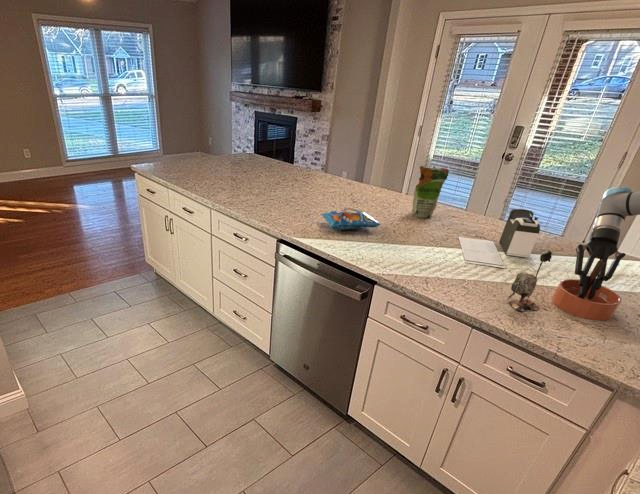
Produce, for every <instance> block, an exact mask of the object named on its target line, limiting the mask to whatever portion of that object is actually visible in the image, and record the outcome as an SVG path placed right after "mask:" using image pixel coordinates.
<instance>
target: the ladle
mask: <svg viewBox="0 0 640 494" xmlns="http://www.w3.org/2000/svg"><path fill="white" fill-rule="evenodd" d="M604 264H605V263H604V262H603V261H599V260H598V261H597V262H596V263H595V265H594V268H593V269H592V271H591V272H590V275H589V276H590V277H589V280H588V284H587V287H586V290H585V293H584V295H583V296H581V297H579V296H578V295H574V296H577V297H579V298H582V299H585V300H588V301H589V299H588V298H586V297H585V296H586V295H587V293H588V291H589V289H590V288H591V286H592V284H593V282H594V281H595V279H596V278H597V276H598V274H599V272H600V270H601V269H602V267H603V265H604Z"/></svg>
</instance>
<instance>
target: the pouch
mask: <svg viewBox="0 0 640 494" xmlns="http://www.w3.org/2000/svg"><path fill="white" fill-rule="evenodd" d="M418 168H419V173H420V177H419V178H418V184H416V185H415V189H414V192H413V200H412V208H411V212H412V213H413V214H415V217H416V218H419V219H427V217H428V216H432V215H433V214H434V211H435V210H436V207H437V206H438V205H437V203H438V201H439V197H440V194H441V191H442V188H443V185H444V183H445V182H446V181H447V179H448V177H449V172H450V170H449V169H448V168H442V167H440V168H437V167H436V166H433V167H425V166H424V165H421V166H420V165H419V166H418Z"/></svg>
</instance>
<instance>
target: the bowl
mask: <svg viewBox="0 0 640 494" xmlns="http://www.w3.org/2000/svg"><path fill="white" fill-rule="evenodd" d="M579 280H580V279H577V278H566V279H563V280H560V281H559V283H558V285H557V287H556V289H555V291H554V293H553V295H552V298H551V301H552V303H553V304H554V305H555V306H556V307H557V308H559V309H561V310H562V311H564V312H566V313H569V314H571V315H572V316H573V315H574V316H576V317H579V318H583V319H586V320H587V319H588V320H593V321H607V320H610V319H611V318H613V316H614V314H615V313H616V312H617V310H618V308H619V307H620V305H621V303H622V297H621V296H620V295H619V294H618V293H617V292H616V291H614V290H613V289H611V288H609V287H606V286H604V285H603V284H602V285H601V288H600V289H599V290H596V292H595V295H594V297H593V298H592V299H589V301H588V300H585V299H582V298H579V297H577V296H574V295H579V292H580V289H581V286H578V283H579ZM591 287H592V286H591ZM590 290H591V288H590V289H589V291H588V293H587V295H586V296H585V297H586V298H588V297H589V293H590Z"/></svg>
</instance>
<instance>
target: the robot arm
mask: <svg viewBox="0 0 640 494" xmlns="http://www.w3.org/2000/svg"><path fill="white" fill-rule="evenodd" d="M633 216H640V190H638V191H633V190H632V189H631V188H630V187H627V186H626V187H625V186H613V187H611V188H608V189H607V190H605V191H604V193H603V196H602V198H601V200H600V202H599V207H598V210H597V215H596V218H595V220H594V223H593V226H592V229H591V230H592V231H591V233H590V236H589V237H588V238H589V240H588V241H587V242H586V244H581V243H580V244H578V245H577V246H576V247H575V253H576V259H575V269H574V274H575V275H578V276H579V279H578V280H579V283H578V286H581V289H580V292H579V295H578V296H579V297H581V296H583V295H584V293H585V290H586V287H587V284H588V280H589V277H590V275H589V272H590V270H591V268H592V266H593V264H594V261H595V259H598V261H603V262H604V263H605V264H604V265H603V267H602V269H601V270H600V272H599V274H598V276H597V277H596V279H595V281H594V282H593V284H592V287H591V290H590V293H589V297H588V299H592V298H593V297H594V295H595V292H596V290H599V289H600V288H601V285H602V286H603V282H608V281H610V280H611V279H612V277H613V276H614V274H615V272H616V269H617V268H618V266H619V264H620V263H621V260H622V259H624V258H625V257H626V256H627V255H626V253H625V252H620V251H618V249H619V248H618V243H619V241H620V237H621V233H622V230H623V227H624V223H625V220H626V218H627V217H633ZM585 251H586V252H587V253H588V257H587V259H586V262H585V265H584V266H583V264H584V255H585ZM613 255H614V256H613ZM611 256H613V260H612V262H611V264H610V266H609V268H608V270H607V264H608V260H609V258H610V257H611ZM606 270H607V271H606Z"/></svg>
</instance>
